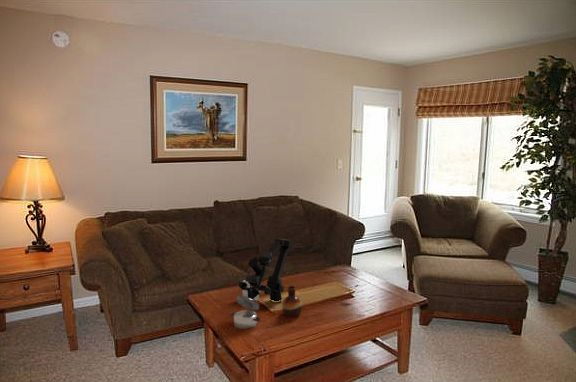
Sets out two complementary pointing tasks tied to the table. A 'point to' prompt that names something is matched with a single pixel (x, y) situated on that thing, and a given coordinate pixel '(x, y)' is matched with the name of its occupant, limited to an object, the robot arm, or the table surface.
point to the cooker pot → (245, 319)
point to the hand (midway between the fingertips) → (248, 302)
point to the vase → (291, 303)
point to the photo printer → (245, 293)
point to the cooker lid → (247, 302)
